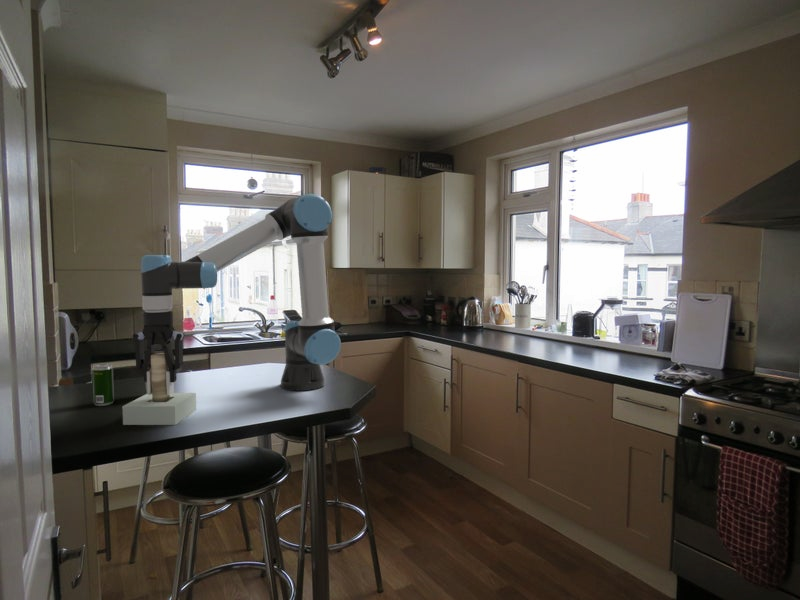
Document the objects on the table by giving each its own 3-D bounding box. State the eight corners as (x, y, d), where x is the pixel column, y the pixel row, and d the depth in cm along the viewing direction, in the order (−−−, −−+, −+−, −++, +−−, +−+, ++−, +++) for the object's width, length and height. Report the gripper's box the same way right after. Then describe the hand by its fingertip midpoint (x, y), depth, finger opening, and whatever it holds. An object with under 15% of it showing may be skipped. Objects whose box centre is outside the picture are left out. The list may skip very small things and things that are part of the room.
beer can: (111, 405, 153) (109, 366, 153) (91, 406, 152) (89, 367, 151) (116, 400, 159) (114, 363, 158) (97, 402, 157) (95, 363, 156)
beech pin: (165, 405, 140) (163, 355, 139) (149, 405, 140) (147, 355, 139) (172, 401, 144) (170, 352, 143) (157, 401, 144) (155, 352, 143)
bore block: (196, 409, 149) (195, 392, 149) (175, 424, 135) (174, 406, 135) (148, 409, 149) (148, 392, 149) (123, 424, 135) (122, 406, 135)
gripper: (195, 309, 144) (197, 390, 146) (133, 309, 144) (136, 390, 146) (184, 312, 136) (186, 397, 138) (118, 312, 136) (121, 397, 138)
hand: (160, 393), depth 142 cm, fingers open, 5 cm apart
